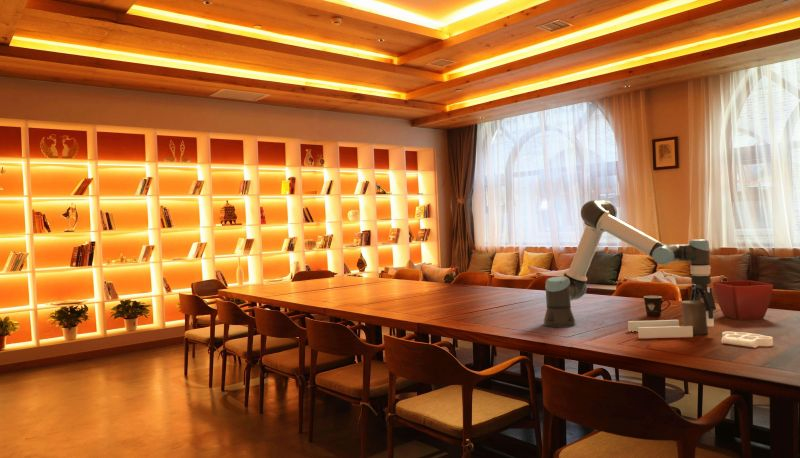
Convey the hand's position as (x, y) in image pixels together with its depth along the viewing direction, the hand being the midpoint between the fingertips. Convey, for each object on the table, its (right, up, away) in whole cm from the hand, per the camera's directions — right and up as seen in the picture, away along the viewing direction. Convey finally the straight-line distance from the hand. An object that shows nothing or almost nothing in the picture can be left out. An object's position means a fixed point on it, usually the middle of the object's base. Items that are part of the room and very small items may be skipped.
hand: (703, 323), depth 242 cm
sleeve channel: (-18, -5, +2) cm, 19 cm away
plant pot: (+36, -2, +29) cm, 46 cm away
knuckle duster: (+5, -5, -21) cm, 22 cm away
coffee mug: (-1, -4, +41) cm, 42 cm away
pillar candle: (-3, -5, +1) cm, 6 cm away
